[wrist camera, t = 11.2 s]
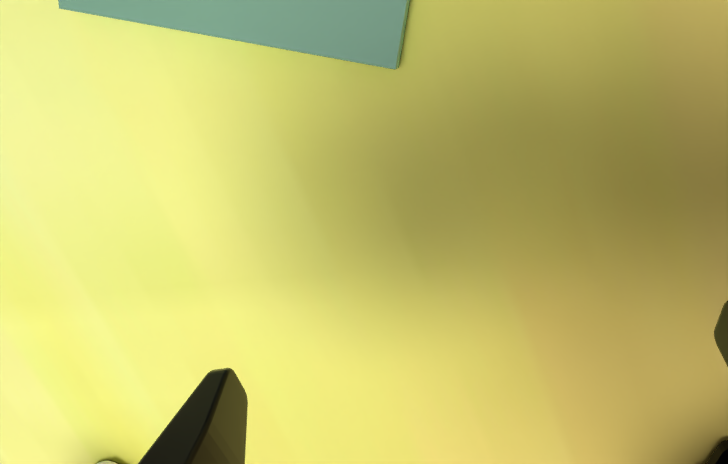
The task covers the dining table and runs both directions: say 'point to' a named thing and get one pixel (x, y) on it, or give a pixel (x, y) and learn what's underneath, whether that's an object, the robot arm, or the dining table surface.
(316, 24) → the header board
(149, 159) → the dining table surface
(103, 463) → the photo printer
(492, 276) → the dining table surface
